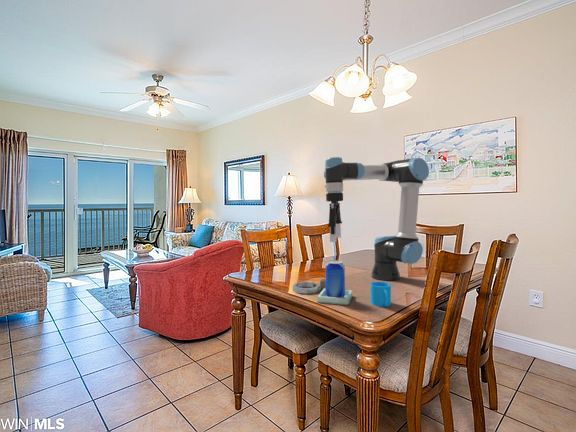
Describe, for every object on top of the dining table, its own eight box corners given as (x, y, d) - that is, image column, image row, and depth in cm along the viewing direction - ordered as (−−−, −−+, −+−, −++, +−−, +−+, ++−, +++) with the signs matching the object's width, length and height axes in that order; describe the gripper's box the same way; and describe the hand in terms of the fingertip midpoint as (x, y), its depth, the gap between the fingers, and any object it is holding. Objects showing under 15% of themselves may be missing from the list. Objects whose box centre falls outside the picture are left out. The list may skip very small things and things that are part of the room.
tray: (352, 296, 142) (352, 290, 142) (348, 305, 129) (348, 299, 129) (323, 293, 146) (323, 288, 146) (317, 302, 134) (317, 296, 133)
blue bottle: (346, 295, 140) (346, 260, 139) (343, 301, 132) (343, 264, 131) (327, 294, 143) (327, 259, 142) (323, 299, 135) (323, 263, 134)
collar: (321, 287, 156) (321, 282, 156) (315, 294, 144) (315, 289, 144) (297, 285, 160) (297, 281, 160) (290, 292, 148) (290, 287, 148)
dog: (328, 289, 153) (328, 279, 153) (326, 291, 149) (326, 281, 149) (322, 288, 154) (322, 278, 153) (320, 291, 150) (320, 280, 150)
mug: (367, 300, 135) (367, 282, 134) (386, 300, 136) (386, 281, 135) (378, 310, 123) (378, 290, 123) (398, 309, 124) (398, 289, 123)
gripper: (330, 192, 153) (331, 235, 154) (320, 192, 129) (322, 243, 130) (346, 192, 151) (347, 235, 152) (338, 192, 127) (340, 243, 128)
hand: (335, 239), depth 141 cm, fingers open, 13 cm apart
